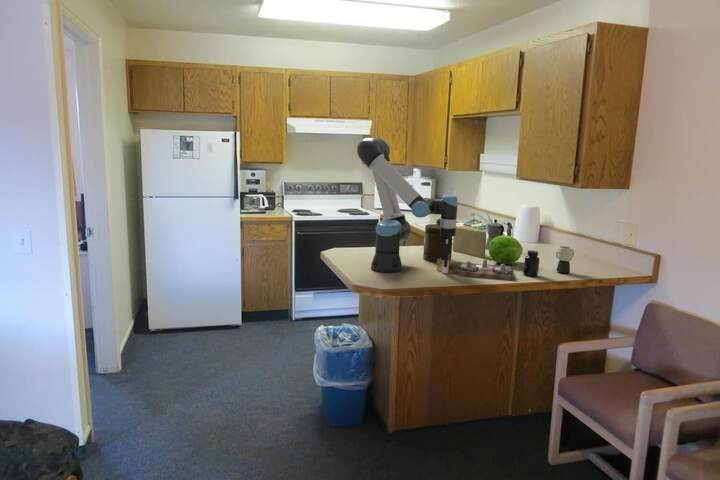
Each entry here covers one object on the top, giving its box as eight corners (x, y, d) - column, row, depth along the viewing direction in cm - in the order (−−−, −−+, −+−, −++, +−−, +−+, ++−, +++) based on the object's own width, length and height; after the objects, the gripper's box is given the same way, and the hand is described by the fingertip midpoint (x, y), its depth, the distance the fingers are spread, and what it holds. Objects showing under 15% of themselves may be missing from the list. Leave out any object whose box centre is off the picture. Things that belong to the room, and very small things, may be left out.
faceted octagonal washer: (436, 271, 250) (436, 261, 249) (436, 267, 258) (437, 257, 257) (453, 272, 248) (454, 262, 247) (453, 268, 256) (454, 259, 255)
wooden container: (437, 255, 285) (439, 216, 281) (456, 260, 274) (459, 220, 269) (417, 258, 277) (419, 217, 272) (436, 264, 265) (439, 222, 261)
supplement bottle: (520, 274, 249) (522, 250, 247) (527, 272, 254) (529, 249, 252) (533, 277, 245) (536, 253, 242) (540, 275, 249) (543, 251, 247)
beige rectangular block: (490, 257, 285) (493, 231, 282) (477, 259, 280) (479, 232, 277) (464, 249, 304) (466, 224, 301) (451, 250, 299) (453, 225, 296)
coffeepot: (480, 247, 312) (482, 218, 309) (493, 246, 316) (496, 217, 312) (494, 252, 298) (497, 222, 295) (508, 252, 301) (511, 221, 298)
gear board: (457, 275, 243) (458, 263, 242) (457, 265, 263) (458, 254, 261) (513, 280, 238) (515, 267, 237) (510, 270, 258) (511, 258, 257)
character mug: (566, 270, 262) (569, 245, 259) (576, 274, 255) (579, 248, 253) (549, 271, 258) (552, 246, 256) (558, 275, 252) (562, 249, 249)
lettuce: (527, 269, 271) (535, 241, 267) (500, 268, 261) (507, 240, 257) (505, 258, 285) (512, 232, 281) (478, 258, 275) (485, 231, 271)
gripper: (455, 232, 236) (452, 276, 240) (456, 223, 260) (453, 264, 264) (439, 231, 238) (436, 275, 242) (441, 223, 262) (438, 263, 266)
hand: (445, 269), depth 253 cm, fingers open, 13 cm apart
